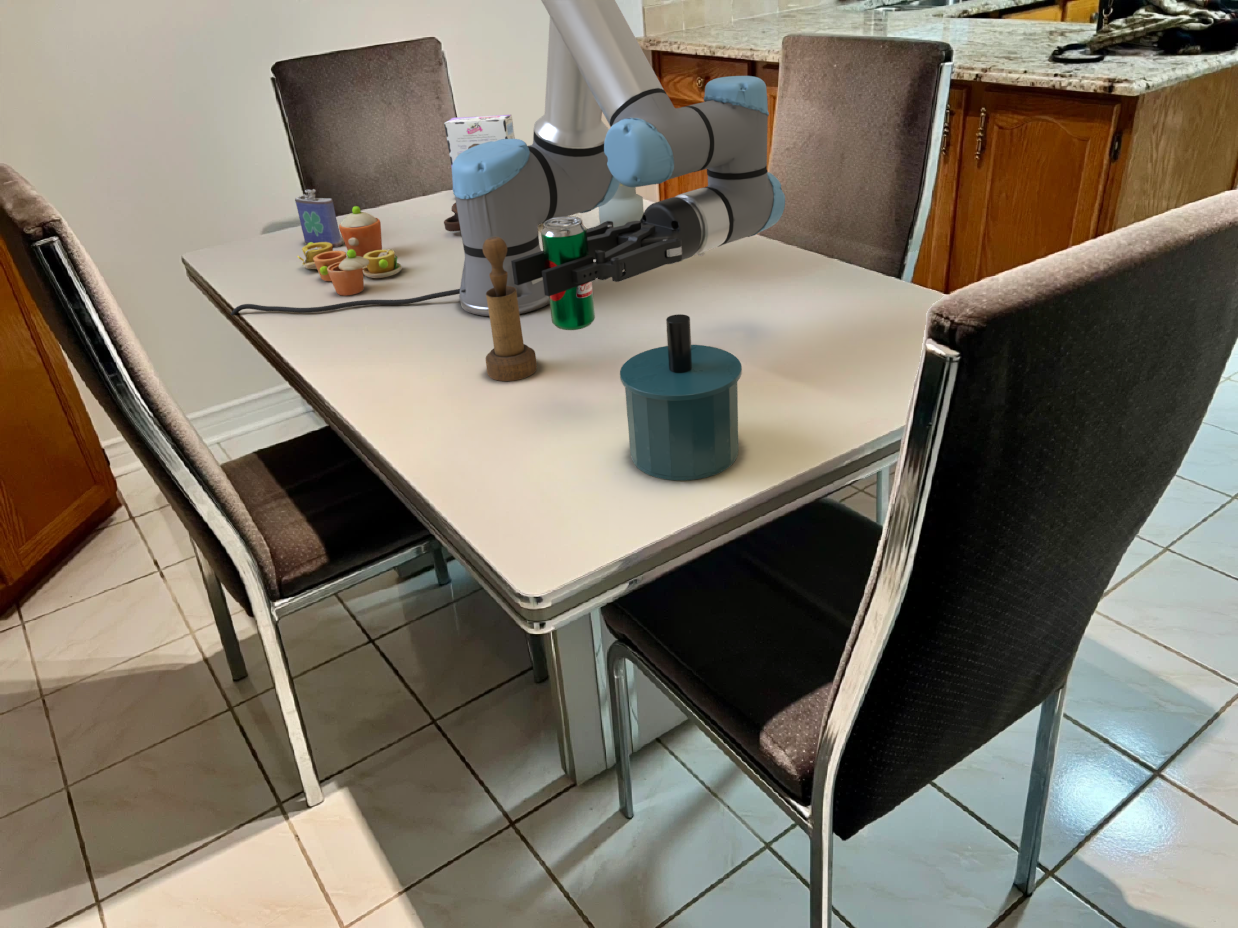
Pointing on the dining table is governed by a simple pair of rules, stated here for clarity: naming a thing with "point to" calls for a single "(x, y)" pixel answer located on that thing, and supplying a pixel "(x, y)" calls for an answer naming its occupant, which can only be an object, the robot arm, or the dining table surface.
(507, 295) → the mortar and pestle
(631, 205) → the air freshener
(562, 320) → the soda can
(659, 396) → the pot lid
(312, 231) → the flask
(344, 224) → the toy tea set
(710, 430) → the pot
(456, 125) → the candy box
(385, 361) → the dining table surface
